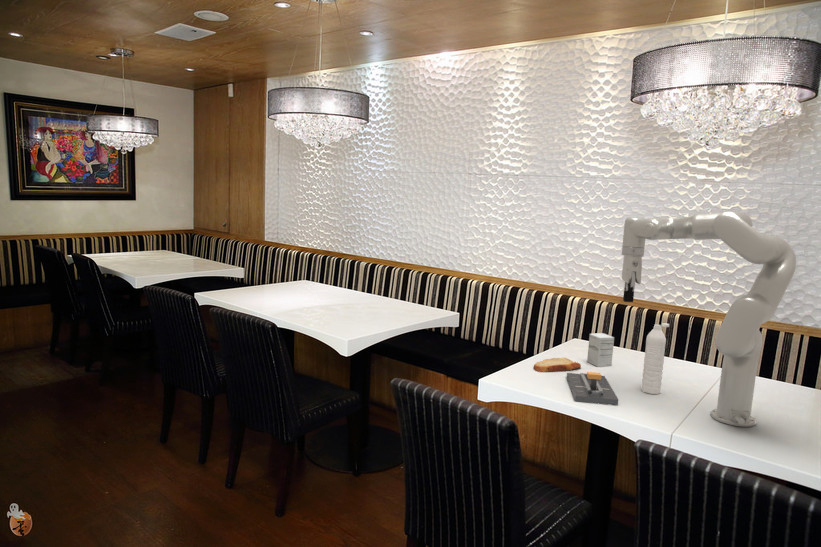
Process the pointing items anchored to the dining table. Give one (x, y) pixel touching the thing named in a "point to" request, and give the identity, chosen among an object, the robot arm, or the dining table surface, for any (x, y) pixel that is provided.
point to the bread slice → (556, 365)
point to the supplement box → (600, 349)
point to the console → (585, 394)
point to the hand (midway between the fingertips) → (628, 301)
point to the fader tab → (593, 379)
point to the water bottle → (654, 360)
